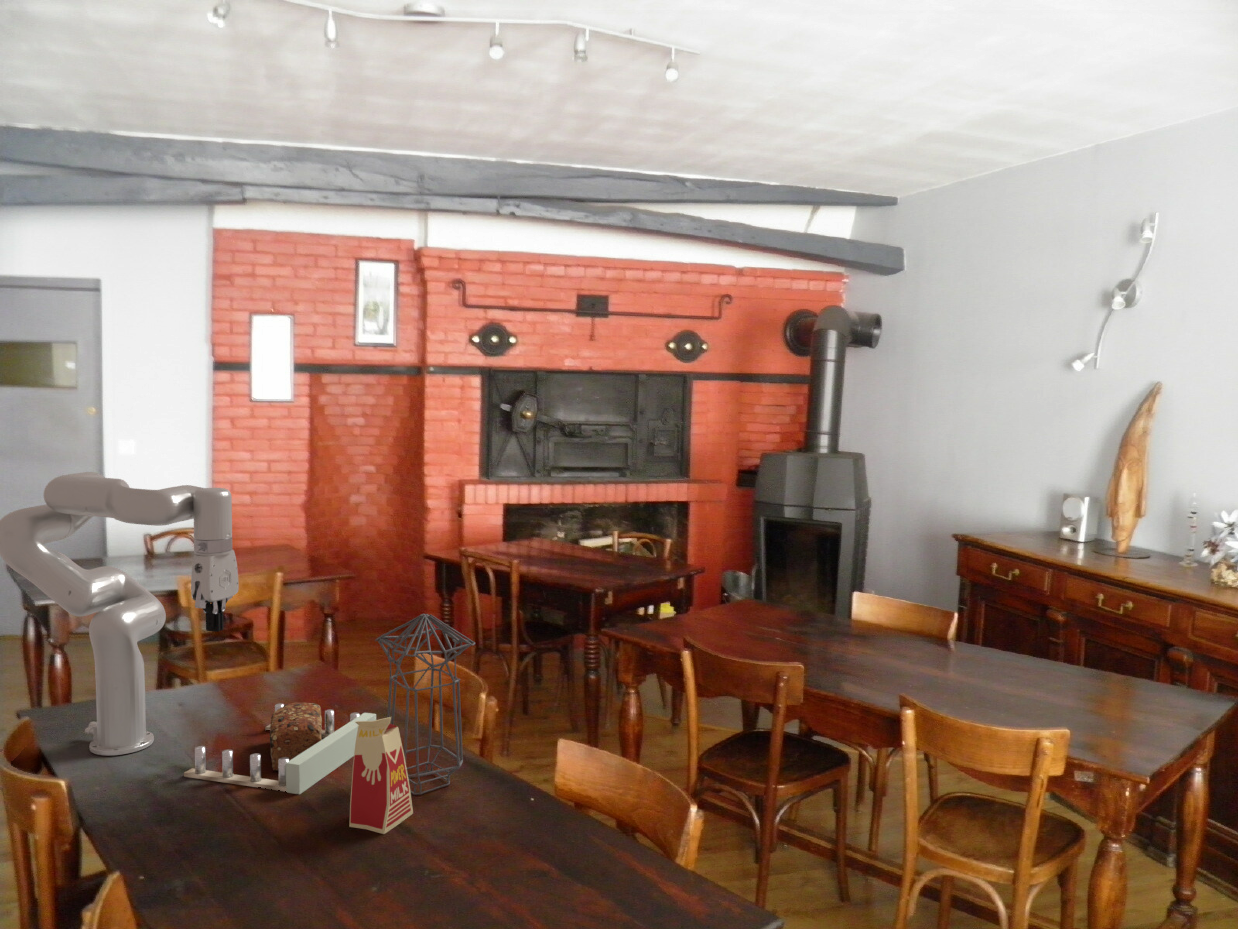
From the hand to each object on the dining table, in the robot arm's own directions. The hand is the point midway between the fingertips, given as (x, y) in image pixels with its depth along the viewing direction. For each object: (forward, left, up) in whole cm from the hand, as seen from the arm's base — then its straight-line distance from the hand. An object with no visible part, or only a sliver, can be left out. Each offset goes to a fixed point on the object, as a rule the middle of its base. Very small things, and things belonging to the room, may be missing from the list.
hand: (214, 630), depth 205 cm
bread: (+17, +4, -28) cm, 32 cm away
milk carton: (+49, -18, -27) cm, 59 cm away
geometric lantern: (+50, -1, -27) cm, 57 cm away
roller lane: (+15, +2, -27) cm, 31 cm away
